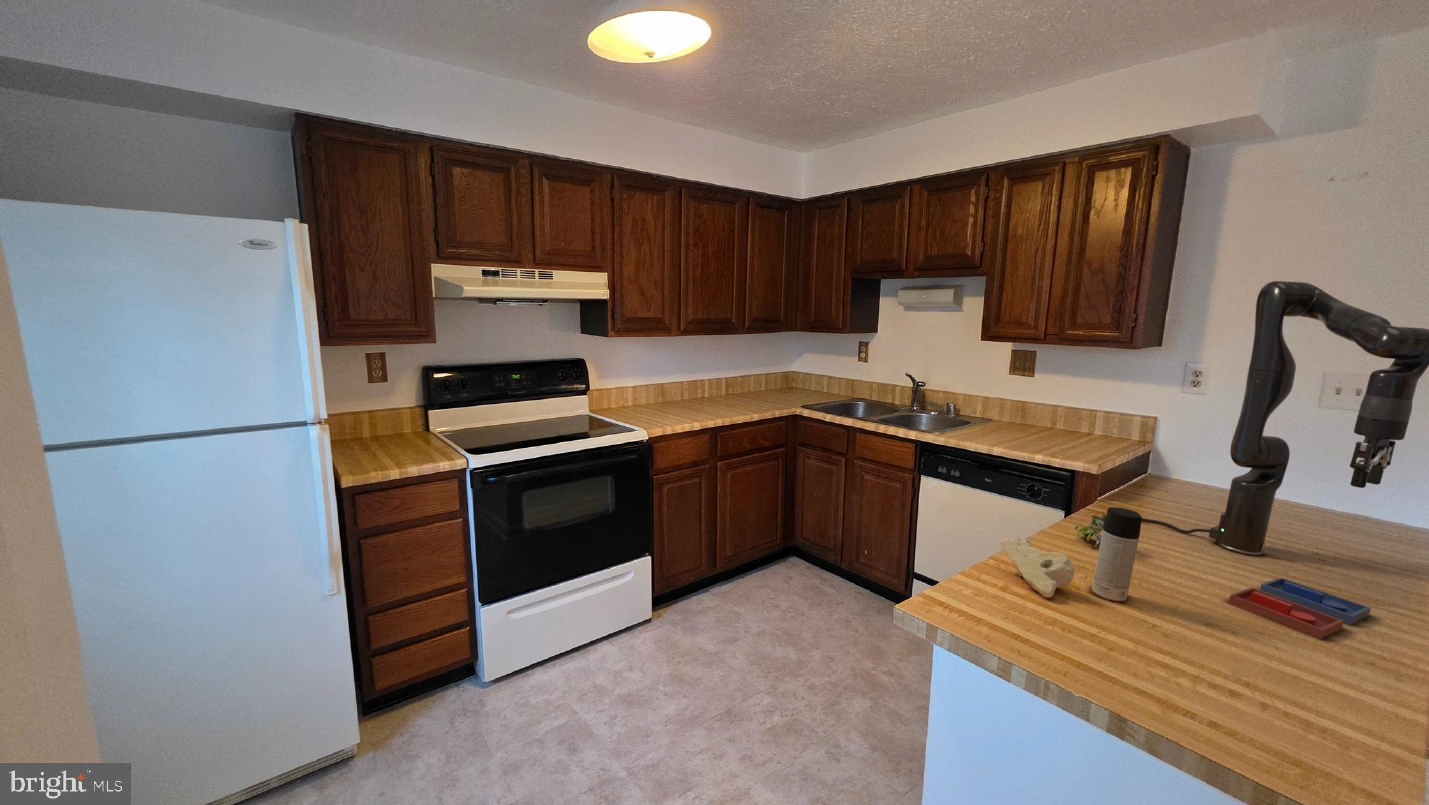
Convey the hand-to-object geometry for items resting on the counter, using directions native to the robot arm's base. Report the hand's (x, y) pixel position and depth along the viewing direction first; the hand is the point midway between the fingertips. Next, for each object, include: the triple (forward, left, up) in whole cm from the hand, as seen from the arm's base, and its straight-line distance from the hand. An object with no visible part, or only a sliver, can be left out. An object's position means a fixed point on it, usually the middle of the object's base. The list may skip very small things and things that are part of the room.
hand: (1365, 485), depth 129 cm
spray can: (-21, -55, -28) cm, 65 cm away
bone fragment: (-32, -68, -28) cm, 80 cm away
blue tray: (-1, -11, -28) cm, 30 cm away
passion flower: (-39, -26, -28) cm, 54 cm away
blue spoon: (-1, -11, -27) cm, 29 cm away
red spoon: (-1, -26, -27) cm, 37 cm away
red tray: (-1, -26, -28) cm, 38 cm away
